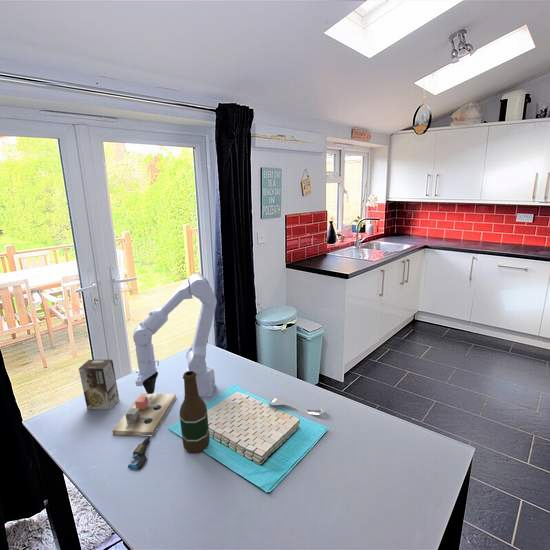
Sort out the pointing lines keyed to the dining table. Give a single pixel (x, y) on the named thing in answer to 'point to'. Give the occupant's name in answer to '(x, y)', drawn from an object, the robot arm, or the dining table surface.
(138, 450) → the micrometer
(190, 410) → the beer bottle
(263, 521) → the dining table surface
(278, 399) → the stirrer
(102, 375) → the coffee box
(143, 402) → the block
